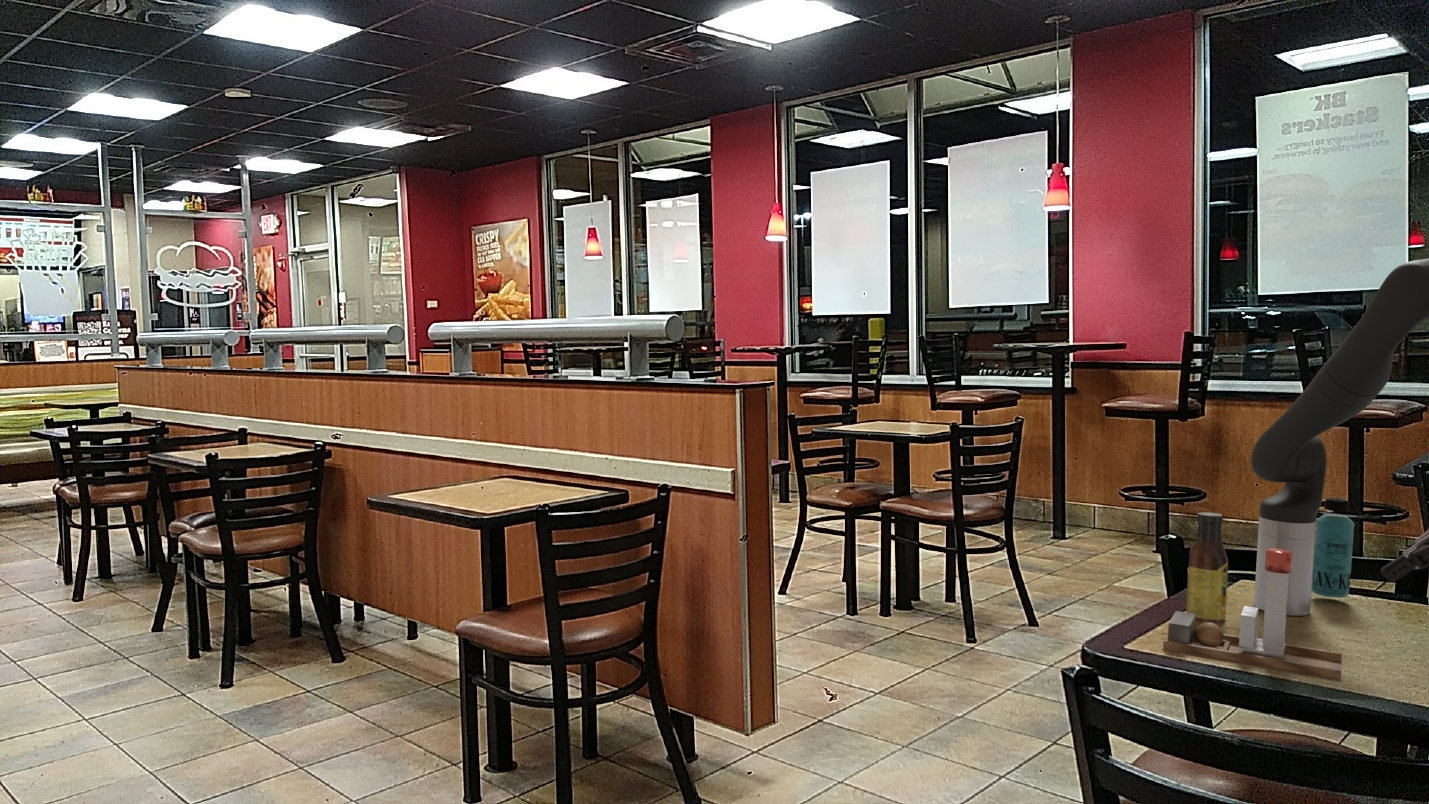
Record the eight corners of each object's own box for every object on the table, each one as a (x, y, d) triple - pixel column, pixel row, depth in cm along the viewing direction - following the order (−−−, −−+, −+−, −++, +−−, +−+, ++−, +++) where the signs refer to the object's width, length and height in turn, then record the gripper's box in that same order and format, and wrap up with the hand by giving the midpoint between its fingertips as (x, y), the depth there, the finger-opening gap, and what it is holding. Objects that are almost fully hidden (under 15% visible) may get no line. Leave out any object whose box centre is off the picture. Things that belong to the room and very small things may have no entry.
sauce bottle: (1229, 632, 174) (1236, 518, 172) (1190, 629, 175) (1197, 516, 173) (1218, 621, 180) (1225, 511, 179) (1181, 618, 181) (1187, 509, 180)
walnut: (1191, 642, 163) (1192, 618, 163) (1217, 643, 163) (1218, 619, 162) (1200, 650, 159) (1201, 625, 159) (1226, 652, 159) (1228, 627, 158)
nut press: (1340, 669, 156) (1342, 634, 155) (1339, 689, 147) (1342, 652, 147) (1171, 641, 168) (1173, 609, 168) (1162, 657, 160) (1164, 624, 160)
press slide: (1287, 652, 158) (1293, 548, 157) (1284, 664, 152) (1291, 557, 151) (1242, 644, 162) (1248, 543, 160) (1238, 656, 156) (1244, 551, 154)
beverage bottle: (1303, 595, 198) (1309, 495, 196) (1337, 596, 198) (1344, 495, 196) (1321, 605, 192) (1328, 501, 190) (1357, 606, 191) (1364, 502, 190)
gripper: (1471, 476, 147) (1364, 547, 154) (1481, 490, 136) (1365, 565, 143) (1514, 517, 144) (1403, 586, 152) (1527, 534, 133) (1407, 608, 141)
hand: (1385, 576), depth 148 cm, fingers closed
